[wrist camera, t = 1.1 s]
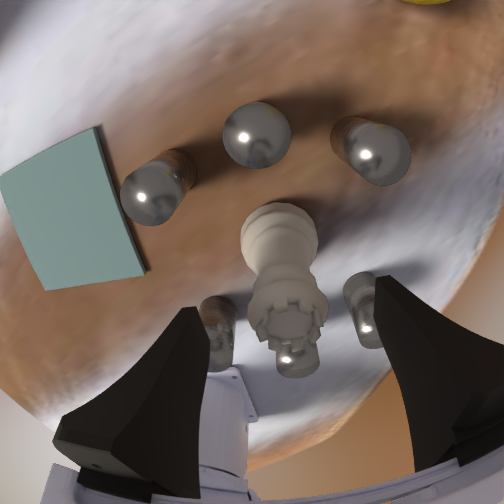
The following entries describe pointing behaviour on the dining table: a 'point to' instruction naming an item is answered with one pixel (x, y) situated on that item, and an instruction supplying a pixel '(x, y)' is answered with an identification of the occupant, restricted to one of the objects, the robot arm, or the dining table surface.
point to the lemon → (426, 1)
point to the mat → (71, 215)
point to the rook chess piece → (283, 276)
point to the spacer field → (261, 156)
